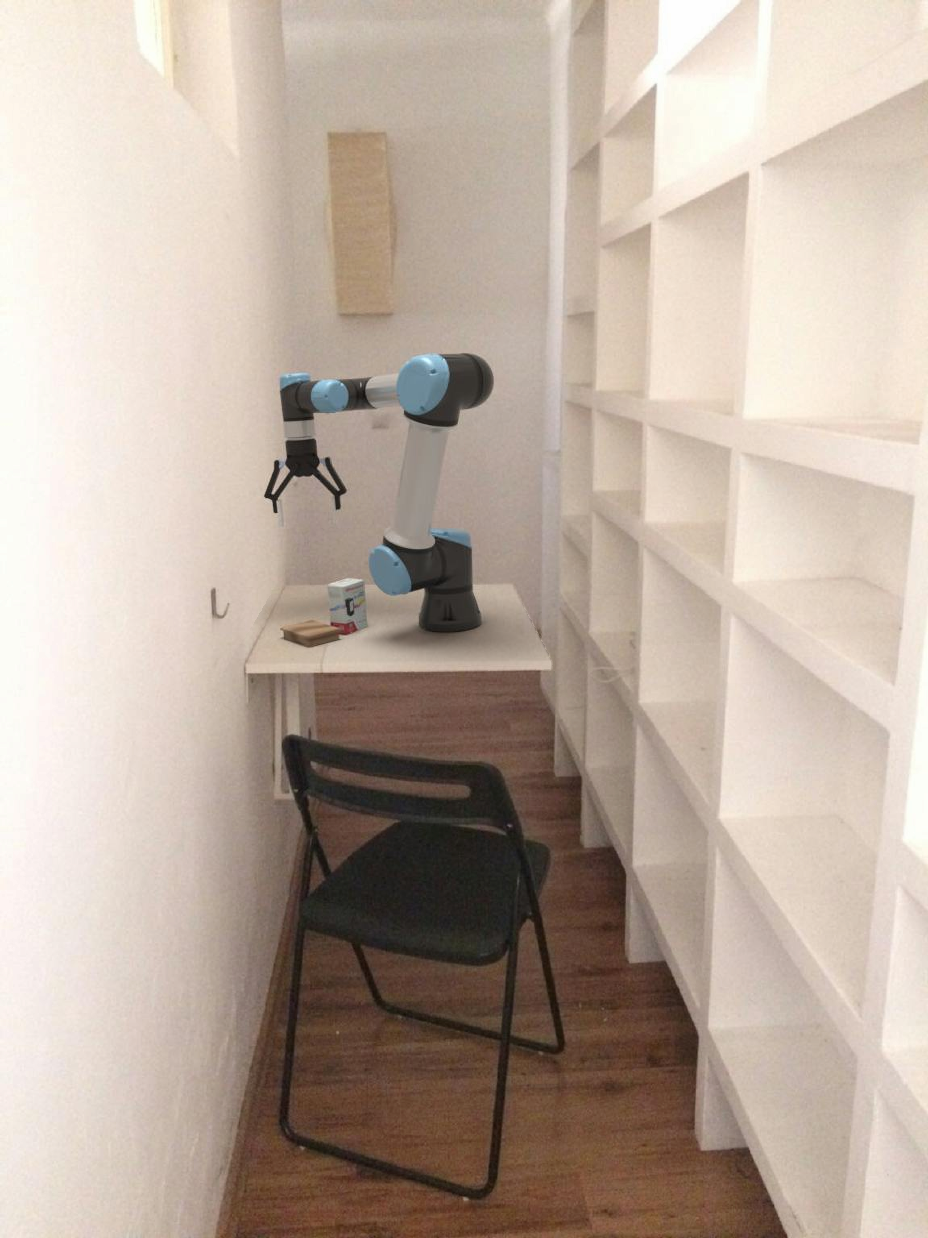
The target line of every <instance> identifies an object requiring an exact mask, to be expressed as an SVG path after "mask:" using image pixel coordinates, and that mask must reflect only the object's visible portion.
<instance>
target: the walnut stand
mask: <svg viewBox="0 0 928 1238" xmlns="http://www.w3.org/2000/svg"><path fill="white" fill-rule="evenodd" d="M279 630H280V631H283V632H282V633H283V639H286V640H289V641H292V642H295V643H298V644H301V645H303V646H306V647H308V648H309V647H310V648H311V647H314V646H319V645H322V644H326V643H330V642H333V641H337V640H340V634H339V631H342V630H341V628H337V627H334V626H331V624H326V623H324V622H319V621H318V620H313V619H312V620H307V621H303V622H300V623H299V622H298V623H295V624H290V625H288V626H287V625H286V626H283V627H280V628H279Z"/></svg>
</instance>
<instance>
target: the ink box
mask: <svg viewBox="0 0 928 1238" xmlns="http://www.w3.org/2000/svg"><path fill="white" fill-rule="evenodd" d="M327 598H328V610H329V621H330V623H329V625H331V626H334V627H337V628H341V630H342V631H339V635H346V636H347V635H350V634H352V633H355V632H357V631H360V630H362V629H364V628H367V627H368V615H367V602H366V600H367V599H366V586H365V580H364V579H360V578H359V579H358V578H352V577H347V578H343V579H340V580H338V581H335V582H330V583H328V585H327ZM361 628H362V629H361ZM359 629H360V630H359ZM351 632H352V633H351ZM349 633H350V634H349Z"/></svg>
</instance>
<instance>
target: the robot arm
mask: <svg viewBox="0 0 928 1238" xmlns="http://www.w3.org/2000/svg"><path fill="white" fill-rule="evenodd" d="M494 383H495V378H494V373H493V370H492V368H491V366H490V365H489V363H488V362H487V361H486V360H485V359H484V358H482V357H481V356H479V355H477V354H474V353H468V352H462V353H434V352H433V353H432V352H431V353H426V354H422V355H416V356H414V357H412V358H410V359H408V360H407V361H406V362H405V363H404V364H403V365H402V367H401V369H400V371H399V372H398V373H391V374H382V375H378V376H377V375H376V376H367V377H359V378H341V379H339V378H338V379H332V378H330V379H319V380H312V379H311V375H310V373H307V372H306V373H305V372H302V373H300V372H299V373H285V374H282V375H280V377H279V394H280V395H279V396H280V403H281V405H280V406H281V411H282V412H281V413H282V420H283V421H282V424H283V432H284V433H283V434H284V435H283V436H284V438H285V439H287V440H285V442H284V444H285V453H286V459H285V460H282V459H278V458H277V459H276V460H274V462H273V472H272V474H271V476H270V479H269V482H268V484H267V487H266V489H265V491H264V495H263V497H264V498H265V499H269V500H271V502H272V511H273V513H274V514H277V518H278V527H279V528H282V527H284V526H285V521H284V520H285V519H284V511H283V501H282V499H279V498H280V496H281V495H282V493H283V492H284V491H285V490H286V488H287V486H288V485H289V484H290V482H291V481H292V480H293V478H294V477H296V478H302V477H306V478H307V477H308V478H309V477H311V476H312V477H313V476H314V477H315V478H316V479H317V480H318V481H319V482H320V483H321V484H322V485H323V486H324V487H325V488H326V489H327V490H328V491H329V492H330V493H331V495H332V496H331V497H330V498H331V509H332V520H333V521H332V522H333V524H334V525H337V524H338V522H339V520H338V518H339V517H338V510H341V508H342V504H341V503H342V502H341V496H343V495H344V494H346V493H347V491H348V489H347V487H346V485H345V484H344V482H343V481H342V479H341V478H340V476H339V474H338V472H337V471H336V470H335V469H336V468H335V467H334V466H333V462H332V458H331V457H330V456H326V457H323V458H320V457H319V456H318V448H317V447H318V446H317V440H316V438H314V437H315V436H316V425H315V423H316V422H315V416H314V414H326V415H327V414H336V413H341V412H350V411H351V412H352V411H366V410H370V411H371V410H377V409H382V408H393V407H401V408H402V410H403V413H402V414H403V417H404V418H405V420H406V421H407V422H408V428H407V434H406V440H405V447H404V452H403V457H402V458H403V459H402V464H401V471H400V477H399V483H398V489H397V495H396V499H395V500H396V501H395V506H394V512H393V513H394V514H393V519H392V525H390V526H389V527H387V528H386V529H385V530H384V531H383V538H382V543H381V545H376V547H374V548H373V549H372V550H371V551H370V554H369V556H368V570H369V573H370V576H371V578H372V580H373V582H374V584H375V585H376V587H377V588H378V589H379V590H380V592H381V591H382V592H383V593H384V594H386V595H389V596H395V597H396V596H399V595H407V594H409V593H413V592H415V591H416V592H417V591H420V590H423V589H424V590H423V591H424V593H423V597H422V602H421V607H420V612H419V614H418V617H417V618H418V627H419V628H421V629H423V630H426V631H429V632H430V631H431V632H444V633H446V632H448V633H450V632H459V631H460V632H461V631H466V630H470V629H474V628H477V627H478V626H481V624H482V612H481V610H480V609H479V605H478V602H477V598H476V596H475V594H474V586H473V585H474V583H473V581H474V580H473V578H474V577H473V551H472V550H473V546H472V540H471V535H470V533H469V532H468V531H466V530H463V529H456V528H445V527H444V528H443V527H441V528H440V527H432V525H433V518H434V513H435V508H436V504H437V503H436V502H437V497H438V492H439V485H440V481H441V478H442V471H443V466H444V459H445V456H446V450H447V449H446V448H447V444H448V438H449V433H450V431H452V430H453V429H454V428H456V427H458V423H459V418H460V415H461V411H462V410H463V411H465V410H470V409H474V408H478V407H479V406H482V405H483V404H484V403H486V401H488V399H489V398H490V396H491V394H492V393H493V390H494V386H495V385H494ZM320 464H321V465H322V466H323V467H324V468H326V470H327V472H328V473H329V474H330V477H331V479H332V480H333V482H334V483H335V484H336V486H337V488H338V489H339V490H338V489H337V488H336V487H335V486H334V485H333V484H332V483H331V481H329V480H328V479H327V477H325V476H324V475H323V474H322V472H321V471H320V470H319V469H318V467H320ZM284 467H286V468H287V469H288V470H289V471H288V473H287V475H286V476H285V478H284V479H283V481H282V482H281V484H280V485H279V486H278V488H277V489H276V490H275V492H274V493H273V491H274V488H275V485H276V484H277V483H276V482H277V480H278V477H279V475H280V473H281V470H282V469H284Z"/></svg>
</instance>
